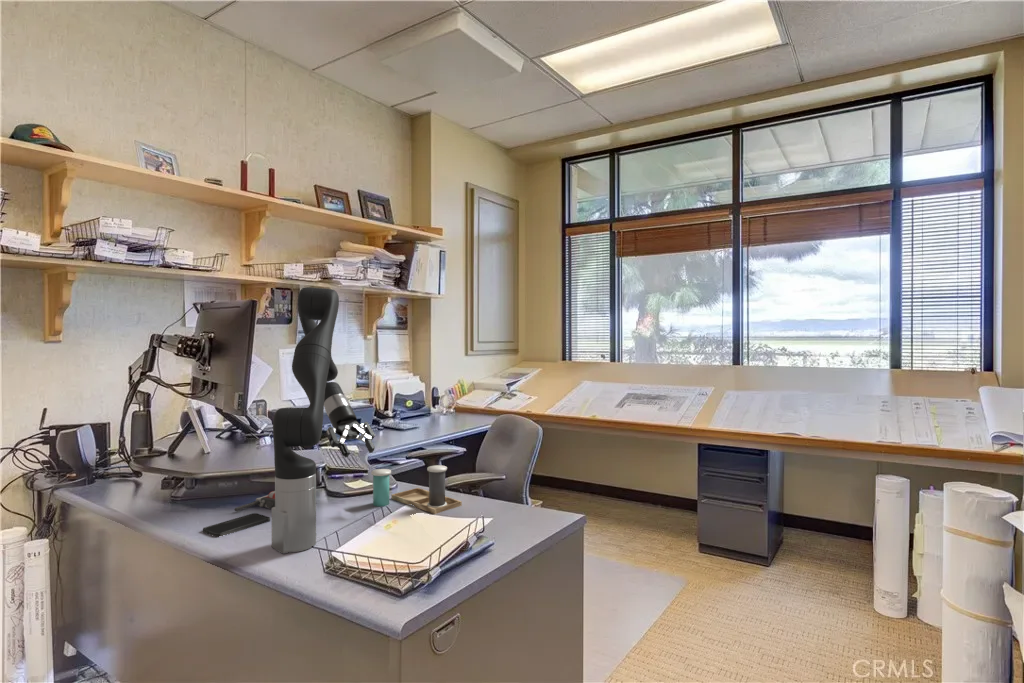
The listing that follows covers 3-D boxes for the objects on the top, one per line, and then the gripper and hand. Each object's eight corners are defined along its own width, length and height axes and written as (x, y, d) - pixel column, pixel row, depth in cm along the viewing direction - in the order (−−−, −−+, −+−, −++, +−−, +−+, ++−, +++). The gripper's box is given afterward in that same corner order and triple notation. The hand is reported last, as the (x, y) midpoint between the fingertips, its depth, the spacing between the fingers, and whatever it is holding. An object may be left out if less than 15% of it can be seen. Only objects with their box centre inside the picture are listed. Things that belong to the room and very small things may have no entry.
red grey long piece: (288, 495, 177) (232, 514, 159) (288, 481, 177) (232, 498, 159) (309, 499, 173) (253, 518, 156) (309, 485, 173) (253, 502, 155)
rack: (461, 510, 163) (461, 501, 162) (434, 519, 155) (434, 509, 155) (417, 496, 176) (417, 487, 176) (391, 503, 169) (391, 494, 168)
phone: (272, 518, 153) (217, 534, 141) (271, 522, 153) (217, 539, 141) (254, 512, 157) (200, 528, 145) (254, 516, 157) (200, 532, 145)
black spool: (435, 510, 158) (436, 471, 158) (423, 505, 162) (423, 467, 162) (450, 505, 162) (451, 467, 162) (438, 501, 166) (438, 464, 166)
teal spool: (378, 513, 160) (378, 474, 159) (367, 509, 163) (367, 471, 163) (395, 508, 164) (395, 471, 163) (383, 504, 167) (383, 467, 167)
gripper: (323, 406, 171) (344, 449, 163) (364, 402, 181) (385, 442, 174) (314, 421, 174) (334, 465, 167) (354, 416, 185) (375, 457, 177)
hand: (360, 453), depth 170 cm, fingers open, 8 cm apart
